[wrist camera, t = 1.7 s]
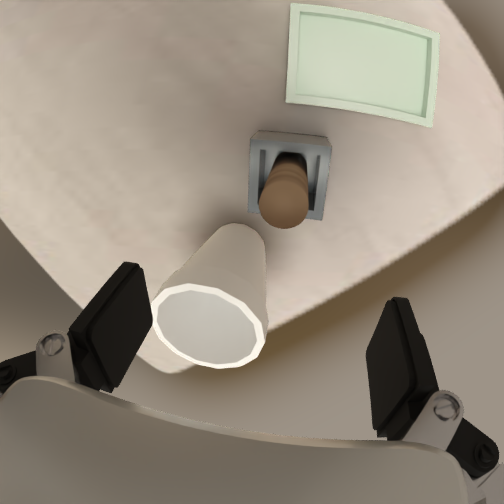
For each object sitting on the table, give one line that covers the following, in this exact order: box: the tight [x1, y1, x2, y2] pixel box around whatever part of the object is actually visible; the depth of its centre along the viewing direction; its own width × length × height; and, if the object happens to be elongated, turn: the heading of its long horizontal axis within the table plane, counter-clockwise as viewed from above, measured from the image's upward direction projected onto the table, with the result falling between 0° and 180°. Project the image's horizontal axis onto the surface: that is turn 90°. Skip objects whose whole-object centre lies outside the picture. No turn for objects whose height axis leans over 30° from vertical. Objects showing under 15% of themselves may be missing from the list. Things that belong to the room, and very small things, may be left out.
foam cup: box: [151, 223, 269, 368], centre depth 28 cm, size 10×9×13 cm
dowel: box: [259, 151, 309, 229], centre depth 23 cm, size 3×3×10 cm
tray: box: [286, 3, 440, 128], centre depth 21 cm, size 14×10×2 cm
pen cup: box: [248, 131, 332, 220], centre depth 26 cm, size 6×6×5 cm
